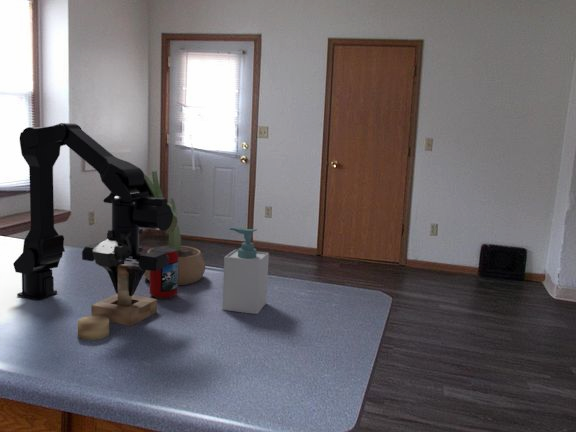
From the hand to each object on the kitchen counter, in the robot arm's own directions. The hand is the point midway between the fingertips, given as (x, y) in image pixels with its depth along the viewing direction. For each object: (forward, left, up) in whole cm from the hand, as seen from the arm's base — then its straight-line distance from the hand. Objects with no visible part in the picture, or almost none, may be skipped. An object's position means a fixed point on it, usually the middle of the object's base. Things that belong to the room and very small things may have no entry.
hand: (124, 294), depth 124 cm
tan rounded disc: (+1, -12, -5) cm, 13 cm away
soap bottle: (+21, +18, -5) cm, 28 cm away
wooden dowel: (0, 0, -2) cm, 3 cm away
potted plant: (-7, +28, -5) cm, 29 cm away
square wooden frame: (0, 0, -5) cm, 5 cm away
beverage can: (0, +16, -5) cm, 17 cm away
